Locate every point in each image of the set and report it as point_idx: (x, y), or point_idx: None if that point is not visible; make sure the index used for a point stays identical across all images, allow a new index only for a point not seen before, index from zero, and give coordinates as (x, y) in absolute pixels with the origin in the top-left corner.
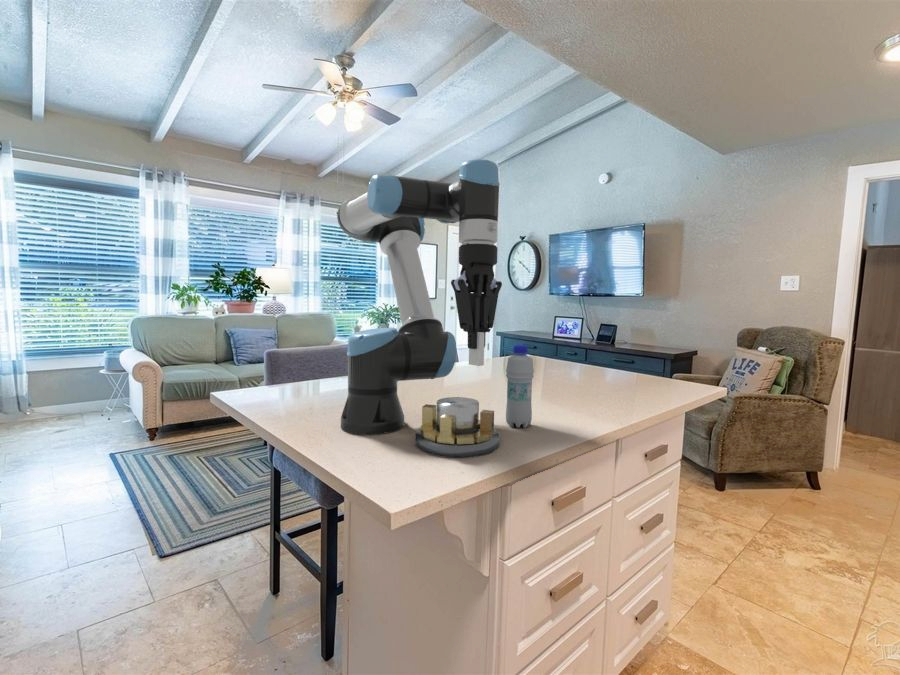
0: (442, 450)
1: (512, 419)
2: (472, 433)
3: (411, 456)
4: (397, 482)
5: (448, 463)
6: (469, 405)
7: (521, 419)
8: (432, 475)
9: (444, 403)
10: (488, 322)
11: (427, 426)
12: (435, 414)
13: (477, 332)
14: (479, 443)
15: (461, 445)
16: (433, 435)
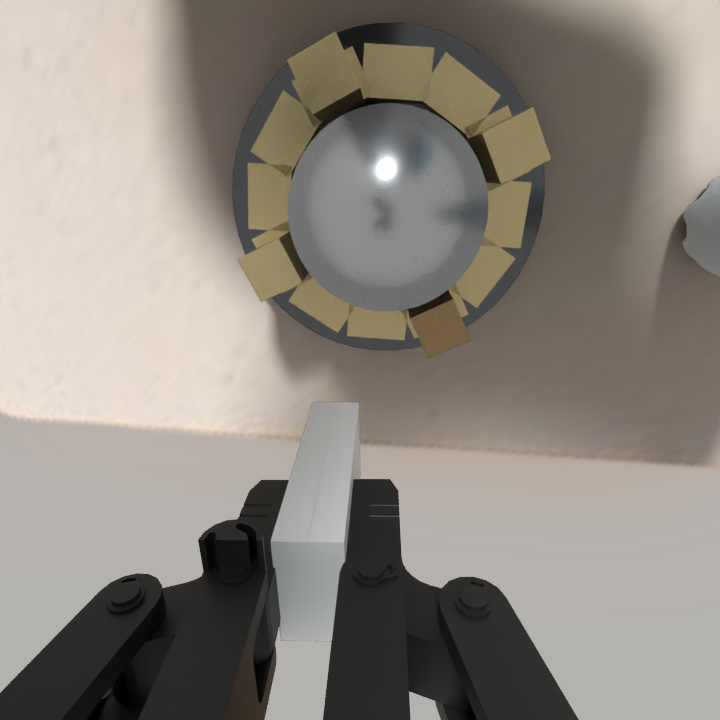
0: None
1: (690, 232)
2: None
3: (187, 193)
4: (62, 314)
5: (240, 312)
6: (374, 298)
7: (703, 265)
8: (156, 340)
9: (316, 195)
10: (446, 714)
11: (302, 113)
12: (352, 99)
13: (298, 609)
14: None
15: None
16: (248, 221)
